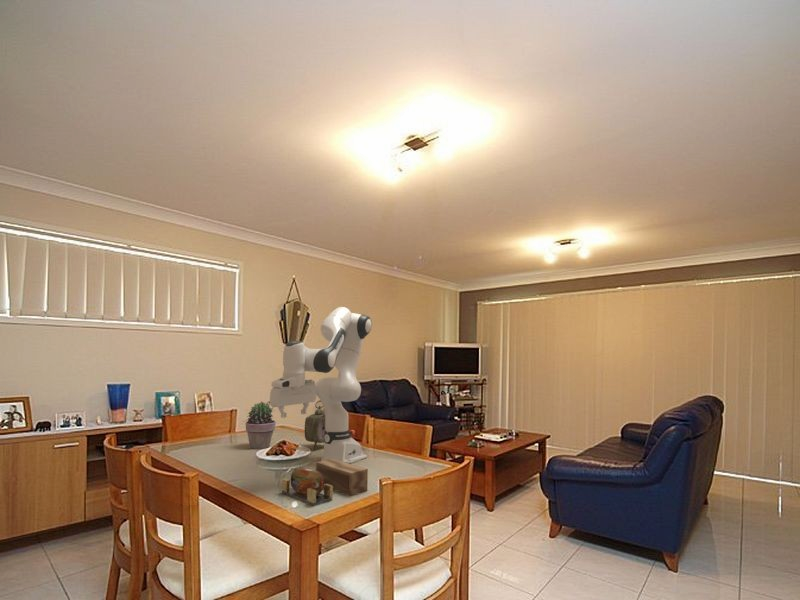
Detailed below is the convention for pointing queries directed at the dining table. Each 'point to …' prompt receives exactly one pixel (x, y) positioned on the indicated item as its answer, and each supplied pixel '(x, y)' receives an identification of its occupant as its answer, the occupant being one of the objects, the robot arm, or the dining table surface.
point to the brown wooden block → (343, 476)
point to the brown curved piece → (307, 480)
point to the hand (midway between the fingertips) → (293, 415)
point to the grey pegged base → (308, 494)
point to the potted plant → (260, 426)
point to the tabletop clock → (315, 426)
